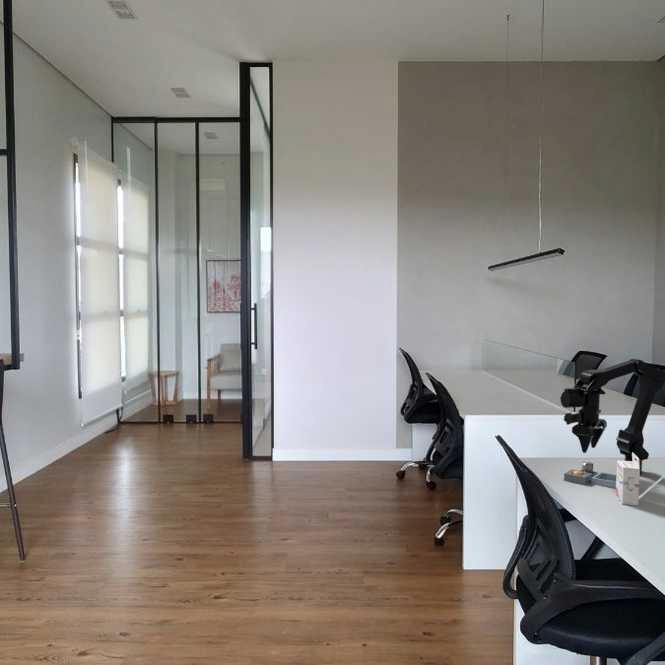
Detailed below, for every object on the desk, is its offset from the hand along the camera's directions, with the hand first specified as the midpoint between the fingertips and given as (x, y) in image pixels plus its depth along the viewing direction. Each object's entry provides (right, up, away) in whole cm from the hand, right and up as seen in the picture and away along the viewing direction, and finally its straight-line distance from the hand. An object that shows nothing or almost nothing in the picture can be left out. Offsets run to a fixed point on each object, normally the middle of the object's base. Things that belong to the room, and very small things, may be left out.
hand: (588, 450), depth 216 cm
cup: (+3, -10, -9) cm, 14 cm away
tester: (-3, -10, -3) cm, 11 cm away
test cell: (0, -9, +1) cm, 9 cm away
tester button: (-6, -9, -7) cm, 13 cm away
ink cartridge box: (+1, -11, -25) cm, 27 cm away
